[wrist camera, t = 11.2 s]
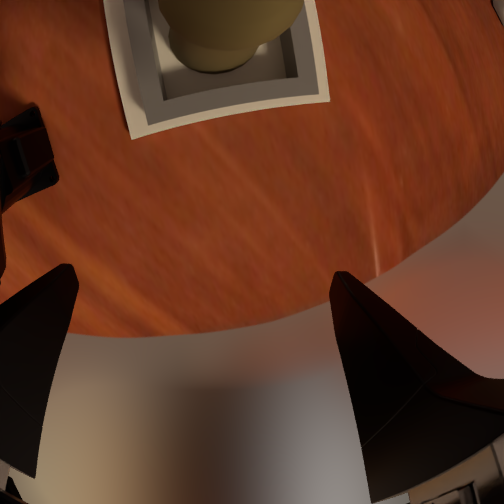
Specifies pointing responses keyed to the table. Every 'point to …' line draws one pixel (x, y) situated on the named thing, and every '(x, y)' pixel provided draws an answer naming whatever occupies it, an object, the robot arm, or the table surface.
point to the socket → (208, 85)
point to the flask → (499, 9)
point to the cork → (224, 30)
